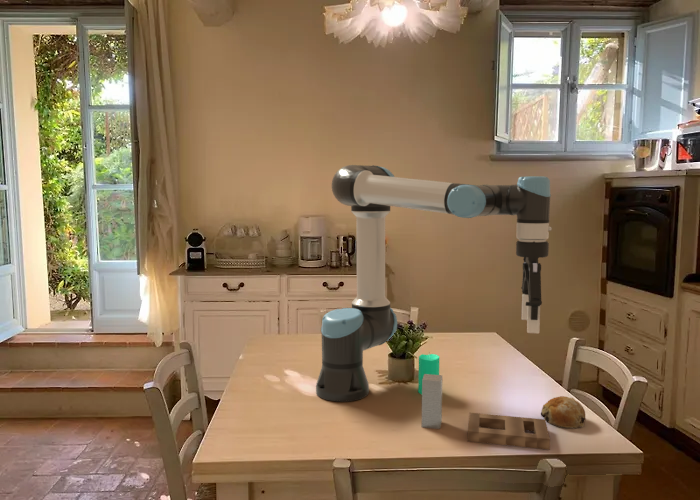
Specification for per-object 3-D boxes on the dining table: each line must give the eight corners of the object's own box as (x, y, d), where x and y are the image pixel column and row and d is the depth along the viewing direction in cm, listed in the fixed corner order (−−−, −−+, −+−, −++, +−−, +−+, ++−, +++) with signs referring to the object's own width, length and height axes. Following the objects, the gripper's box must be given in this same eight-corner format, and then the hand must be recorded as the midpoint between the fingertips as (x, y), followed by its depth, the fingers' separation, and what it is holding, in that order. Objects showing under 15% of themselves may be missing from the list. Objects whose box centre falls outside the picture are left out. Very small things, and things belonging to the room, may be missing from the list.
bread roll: (571, 445, 137) (588, 419, 134) (533, 419, 141) (548, 394, 138) (579, 430, 145) (595, 406, 142) (543, 406, 149) (557, 382, 147)
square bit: (421, 427, 138) (422, 379, 137) (423, 419, 143) (424, 373, 141) (440, 429, 137) (440, 381, 136) (441, 421, 142) (442, 375, 140)
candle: (441, 390, 163) (442, 349, 162) (435, 397, 158) (436, 355, 157) (421, 387, 166) (422, 347, 164) (415, 393, 160) (415, 352, 159)
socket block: (467, 441, 131) (467, 430, 130) (469, 422, 141) (469, 412, 141) (549, 449, 126) (549, 439, 126) (544, 429, 137) (545, 419, 137)
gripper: (556, 245, 124) (553, 339, 126) (541, 236, 148) (539, 315, 151) (521, 245, 125) (518, 338, 128) (512, 235, 150) (510, 314, 152)
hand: (530, 326), depth 139 cm, fingers open, 13 cm apart
